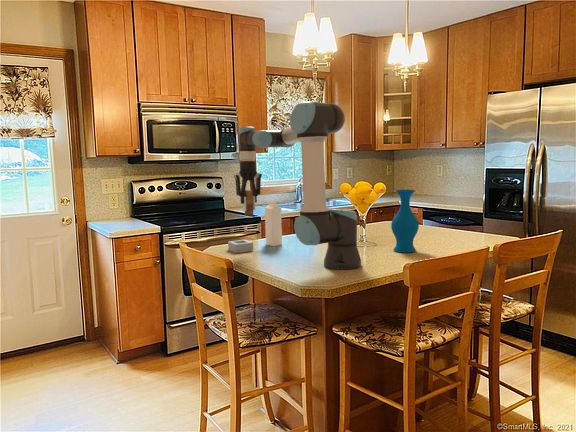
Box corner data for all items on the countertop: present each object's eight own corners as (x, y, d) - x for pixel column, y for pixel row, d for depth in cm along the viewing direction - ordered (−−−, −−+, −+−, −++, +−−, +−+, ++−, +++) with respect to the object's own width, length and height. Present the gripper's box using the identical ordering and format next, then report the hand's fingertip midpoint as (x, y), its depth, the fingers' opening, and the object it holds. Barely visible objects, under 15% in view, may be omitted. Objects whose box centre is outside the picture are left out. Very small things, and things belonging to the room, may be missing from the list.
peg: (254, 215, 222) (254, 190, 220) (247, 216, 220) (246, 190, 219) (251, 214, 226) (250, 189, 224) (243, 215, 224) (242, 190, 222)
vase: (423, 250, 217) (424, 190, 213) (408, 255, 208) (409, 192, 204) (401, 247, 225) (401, 188, 222) (385, 251, 217) (386, 190, 213)
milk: (272, 246, 234) (271, 202, 231) (265, 244, 239) (264, 201, 236) (282, 244, 238) (281, 201, 234) (275, 243, 242) (274, 200, 239)
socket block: (253, 250, 225) (253, 242, 224) (236, 252, 220) (235, 244, 220) (245, 247, 232) (245, 239, 232) (228, 249, 228) (228, 241, 227)
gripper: (260, 159, 226) (261, 207, 230) (227, 160, 218) (229, 210, 222) (267, 160, 220) (268, 209, 223) (233, 161, 212) (235, 212, 215)
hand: (248, 210), depth 223 cm, fingers closed on peg, 4 cm apart
